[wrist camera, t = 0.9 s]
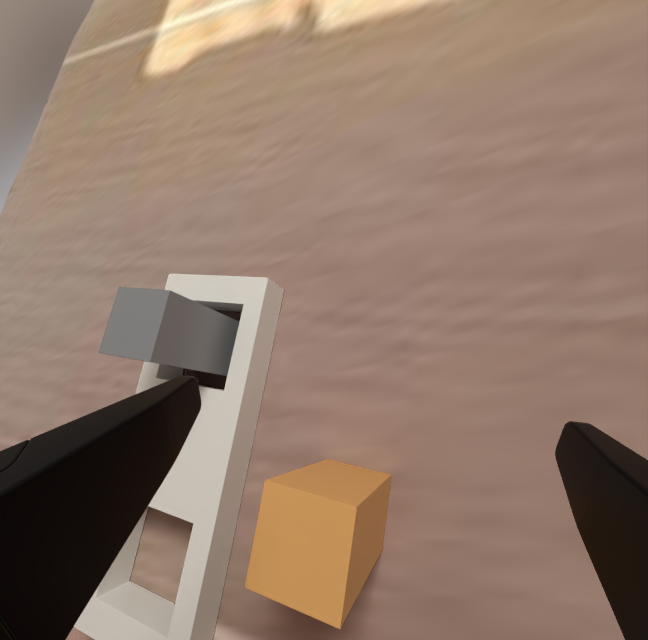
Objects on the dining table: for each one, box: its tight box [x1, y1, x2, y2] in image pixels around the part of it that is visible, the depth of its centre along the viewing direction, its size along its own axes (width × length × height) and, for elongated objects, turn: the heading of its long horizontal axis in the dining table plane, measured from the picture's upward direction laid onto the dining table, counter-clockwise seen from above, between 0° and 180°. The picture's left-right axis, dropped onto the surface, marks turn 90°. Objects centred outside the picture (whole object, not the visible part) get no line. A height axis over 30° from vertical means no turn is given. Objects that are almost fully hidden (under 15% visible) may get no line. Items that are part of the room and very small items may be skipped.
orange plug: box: [245, 459, 391, 629], centre depth 17 cm, size 4×4×8 cm
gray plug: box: [99, 287, 239, 376], centre depth 23 cm, size 4×4×8 cm
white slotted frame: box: [74, 274, 284, 640], centre depth 24 cm, size 24×9×2 cm, turn 170°
